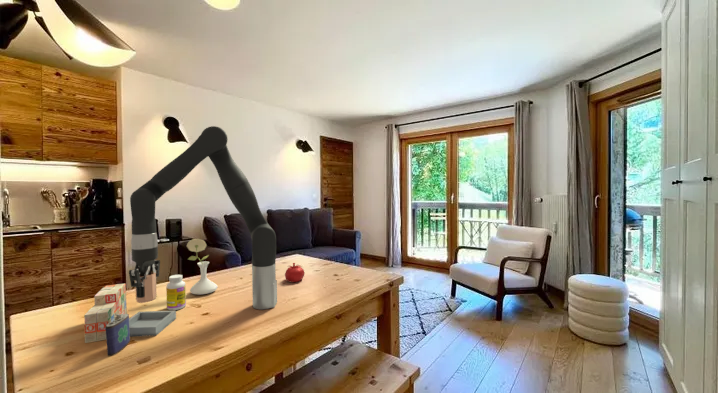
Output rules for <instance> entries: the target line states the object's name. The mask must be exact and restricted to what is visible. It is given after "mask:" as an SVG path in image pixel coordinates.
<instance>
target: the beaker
mask: <svg viewBox="0 0 718 393" xmlns="http://www.w3.org/2000/svg"><path fill="white" fill-rule="evenodd" d="M140 277H144V276H140ZM140 281H142V280H140ZM134 289H136V287H134ZM144 289H145V296H144V297H143V298H137V292H136V291H135V301H136V302H137V303H139V304H143V303H144V304H145V303H149V302H153V301H154V300H156V299H157V277H156V273H155V272H154V273H152V272H151V275H148V276H147V279H146V280H145V284H144Z"/></svg>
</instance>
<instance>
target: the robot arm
mask: <svg viewBox="0 0 718 393" xmlns="http://www.w3.org/2000/svg"><path fill="white" fill-rule="evenodd" d="M227 144H228V135H227V133H226V131H225V130H224V129H223V128H222V127H219V126H216V125H215V126H214V125H212V126H208V127H206V128H204V129H203V131H202V132H201V134H200V135H199V136H198V137H197V139H195V141H194V142H192V144H191V145H190V146H189V147H188V148H187V149H185V151H183V152H182V153H181V154H179V155H178V156H177V157H176V158H174V159H172V161H171V160H170V162H168V164H166V165H165V166H164V167H163V168H161V169H160V170H159V171H157V173H155V174H154V175H153V176H152V177H151V178H150V179H149V180H148V181H146V182H145V183H143V184H142V185H141V186H140V187H138V188H137V189H135V190H134V191H133V192H132V193H131V195H130V197H129V199H130V200H129V201H130V204H129V205H130V211H131V239H130V246H131V248H130V250H131V261H132V262H134V263H135V267H134V269H129V270H128V275H129V276H128V277H129V282H130V286H131V288H132V287H133V288H135V287H136V288H135V293H136V292H137V298H143V297H144V296H145V289H144V284H145V280H146V279H147V276H148V275H151V272H152V273H154V272H155V273H156V278H158V277H160V271H161V270H160V269H161V260H158V258H159V248H158V246H159V244H158V243H159V242H158V234H157V220H156V202H157V201H158V200H159V199H161V197H163V195H165V194H166V193H167V192H169V191H171V190H172V189H173V188H175V187H176V186H177V185H178V184H179V183H181V181H183V180H184V179H185V178H186V177H187V176H188V175H189V174H190V173H191V172H192V171H193V170H194V169H195V168H197V166H198V165H200V163H202V162H203V161H204V160H205V159H206V158H209V159H210V161H211V162H212V164H213V166H214V168H215V169H216V172H217V174H218V177H219V180H220V182H221V184H222V186H223V188H224V190H225V193H226V194H227V195H228V198H229V199H230V202H231V203H232V204H233V206H234V207H235V209H236V210H237V212H238V213H239V215H240V216H241V217H242V218H243V219H242V220H244V223H245V225H246V227H247V229H248V232H249V234H250V238H251V254H252V256H251V275H252V277H251V280H252V281H251V282H252V283H251V284H252V286H251V287H252V289H251V290H252V308H253V309H255V310H267V309H270V308H272V309H273V308H275V307H276V305H277V303H278V280H277V279H276V276H277V275H276V272H277V271H276V259H277V235H276V232H275V230H274V229H273V228H272V227H271V225H270V224H269V223H268V221H267V219H266V218H265V216H264V214H263V213H262V211H261V208H260V206H259V202H258V200H257V198H256V195H255V192H254V190H253V187H252V186H251V184H250V182H249V180H248V178H247V176H246V175H245V174H244V172H243V171H242V170H241V168H240V167H239V166H238V165H237V164H236V162H235V161H234V159H233V156H232V155H231V153H230V151H229V148H228V146H227ZM156 259H157V260H156ZM140 276H144V277H140ZM140 280H142V281H140Z"/></svg>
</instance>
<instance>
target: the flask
mask: <svg viewBox="0 0 718 393" xmlns="http://www.w3.org/2000/svg"><path fill="white" fill-rule="evenodd" d="M116 316H117V317H116V318H115V320H114V321H113V322H109V324H107V325H106V328H105V329H106V352H107V357H112V356H115V355H117V354H118V353H120V352H121V351H123V350H124V349H125V348H126V347H127V346H128V345H129V344H130V343H131V337H130V332H129V318H130V315H129V314H128V313H127V314H124V315H123V314H116Z"/></svg>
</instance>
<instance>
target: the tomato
mask: <svg viewBox="0 0 718 393" xmlns="http://www.w3.org/2000/svg"><path fill="white" fill-rule="evenodd" d="M295 264H296V263H295V262H293V263H292V265H287V269H286V270H285V273H284V276H285V278H284V279H285V280H286V281H287V282H289V283H297V282H300V281H301V280H303V278H304V277H305V274H306V273H305V270H304V268H303V267H302V266H301V265H300V264H296V265H295Z"/></svg>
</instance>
